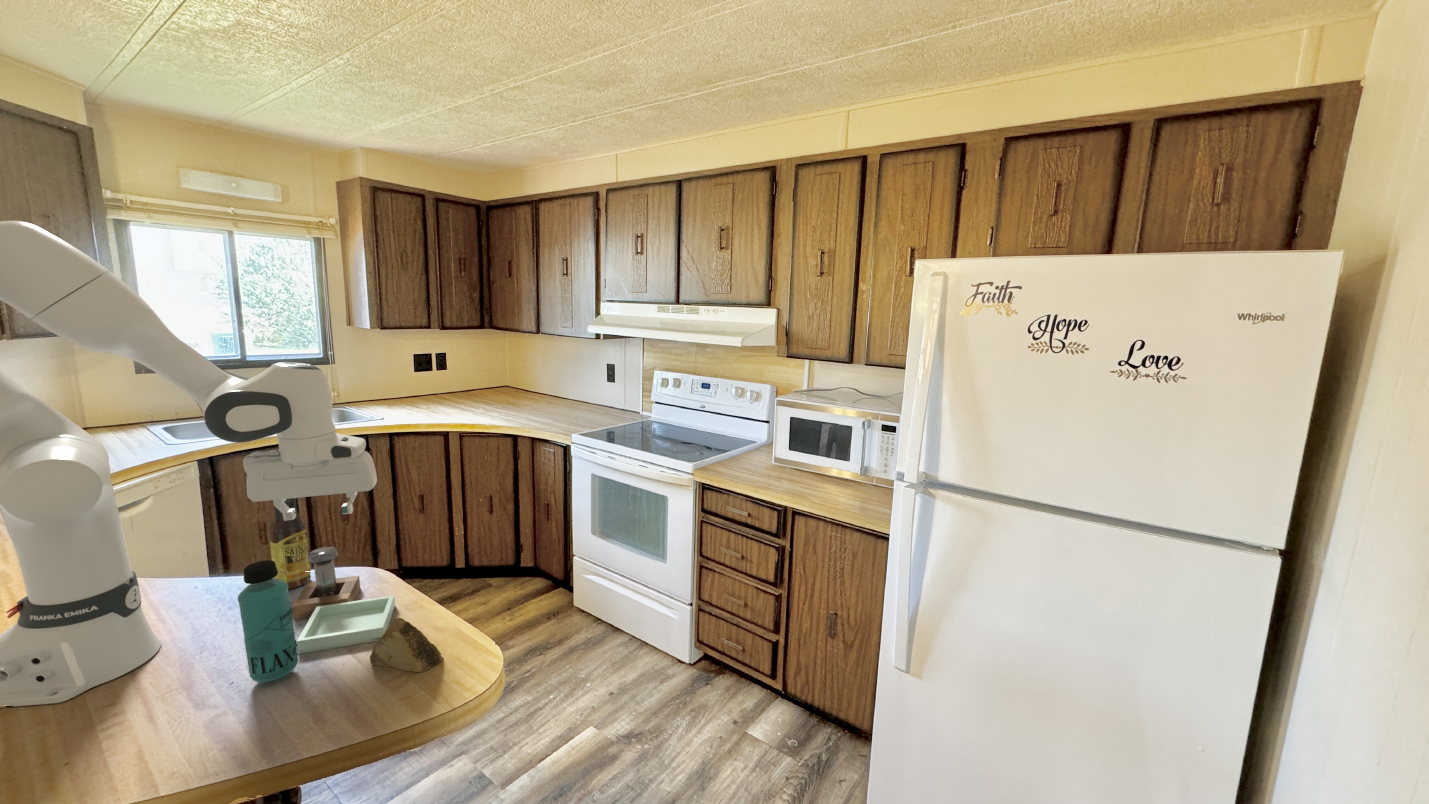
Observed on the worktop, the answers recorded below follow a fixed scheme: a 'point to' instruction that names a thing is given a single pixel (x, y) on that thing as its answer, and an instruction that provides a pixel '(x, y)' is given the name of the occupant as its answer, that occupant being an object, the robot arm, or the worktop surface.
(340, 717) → the worktop surface
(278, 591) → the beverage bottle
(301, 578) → the sauce bottle
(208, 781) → the worktop surface
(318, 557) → the pin
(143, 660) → the robot arm
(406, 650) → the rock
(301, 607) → the collar
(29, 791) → the worktop surface
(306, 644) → the dish
